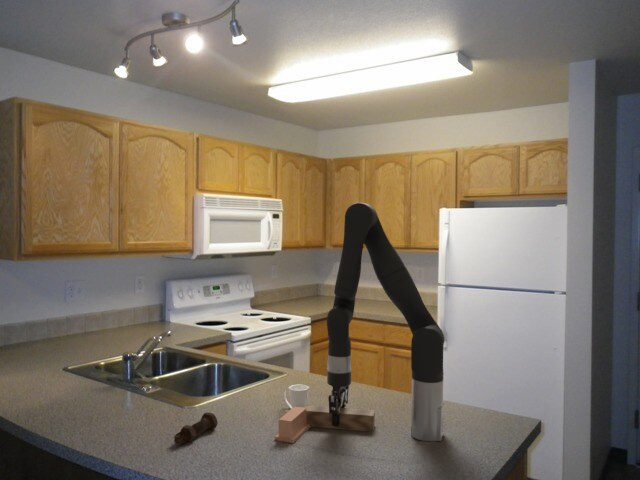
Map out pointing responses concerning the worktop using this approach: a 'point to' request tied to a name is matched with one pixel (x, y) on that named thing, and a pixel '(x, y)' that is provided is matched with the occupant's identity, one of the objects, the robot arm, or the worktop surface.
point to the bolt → (196, 428)
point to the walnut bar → (341, 418)
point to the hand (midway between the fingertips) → (338, 422)
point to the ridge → (292, 425)
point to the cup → (297, 395)
